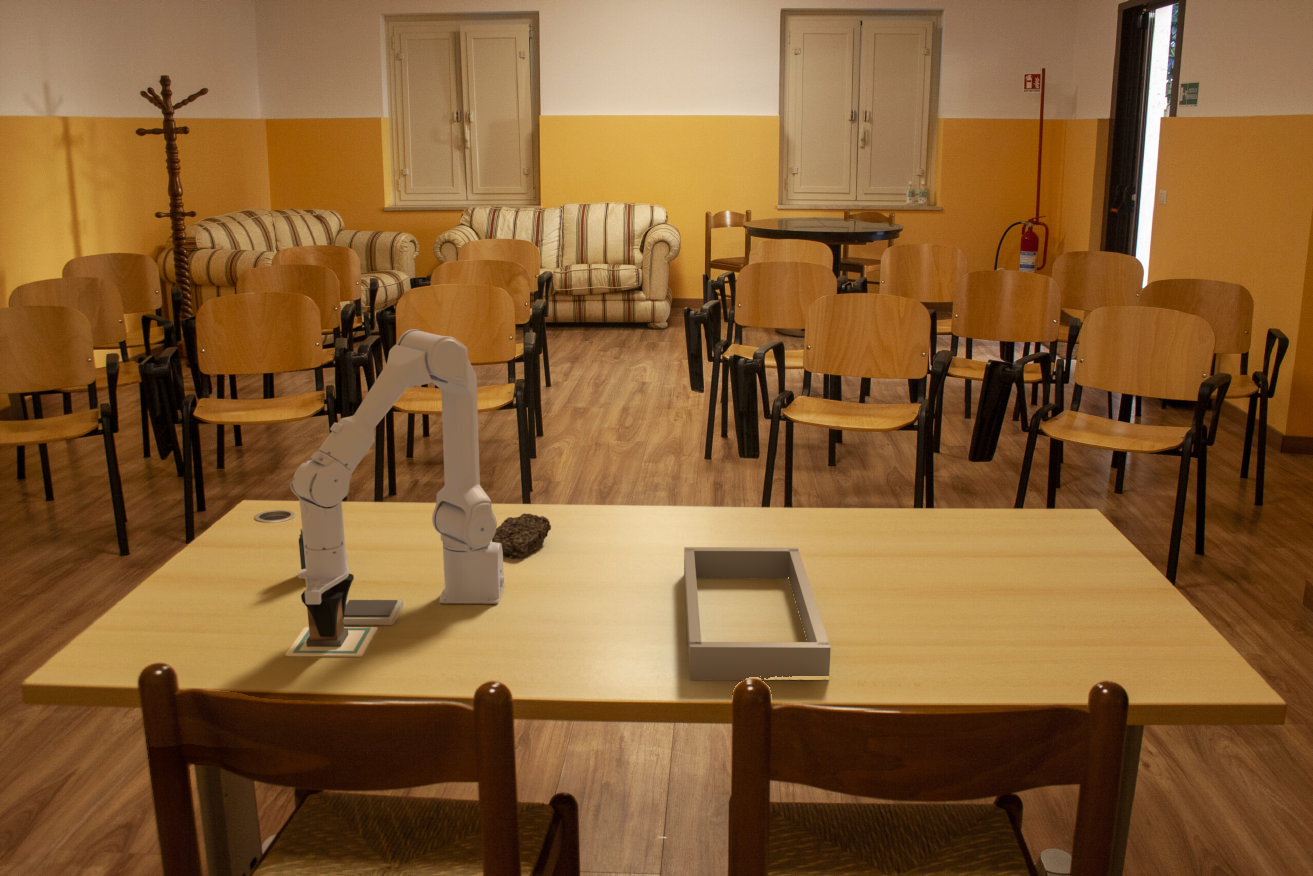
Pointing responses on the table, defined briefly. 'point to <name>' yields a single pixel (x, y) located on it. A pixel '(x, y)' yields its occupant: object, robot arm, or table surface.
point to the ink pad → (372, 612)
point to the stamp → (335, 641)
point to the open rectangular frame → (753, 656)
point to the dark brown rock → (522, 534)
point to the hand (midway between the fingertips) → (331, 629)
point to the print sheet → (350, 648)
